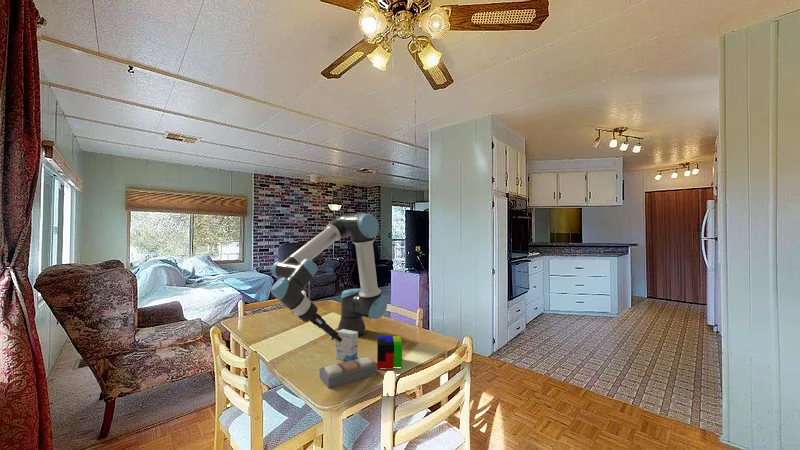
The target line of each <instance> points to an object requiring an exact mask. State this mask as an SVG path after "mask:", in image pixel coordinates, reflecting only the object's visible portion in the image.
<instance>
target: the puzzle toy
mask: <svg viewBox="0 0 800 450" xmlns="http://www.w3.org/2000/svg"><path fill="white" fill-rule="evenodd" d="M376 343H377V347H376V348H377V349H376V350H377V351H376V365H377V370H381V369H380V368H393V367H402V368H403V342H402V338H401V335H378V336H377V342H376Z"/></svg>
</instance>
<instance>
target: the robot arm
mask: <svg viewBox="0 0 800 450" xmlns="http://www.w3.org/2000/svg"><path fill="white" fill-rule="evenodd" d="M379 231H380V225H379V221H378V219H377V218H376V217H375V215H373V214H371V213H364V212H363V213H361V212H360V213H345V214H342V215H340V216H338V217H336V218H335V219H333V220H332V221H330V222H329V223H328V224H327V225H326V226H325V229H324V230H322V231H321V232H320V233H318V234H317V235H315V236H314V237H313V238H312V239H311V240H309V241H307V242H306V243H305V244H304V245H303V246H301V247H300V248H298V249H297V250H296V251H294V252H293V253H292V254H290V255H289V256H288V257H287V258H286V259H283V260H278V261H276V262H273V264H272V265H271V269H270V272H271V274H272V276H273V277H274V278H277V279H278V280H277V281H276V282H275V283H273V285H272V286H271V289H270V292H271V294H272V295H273V297H275V298H276V300H277V301H279V302H281V304H283V305H284V306H285V307H286V308H288V309H289V310H290V311H291V312H290V314H292V315H293V314H294V315H295V316H298V318H299V319H300V320H302V322H304V323H307V322H311V323H312V324H313V325H314V326H316V327H318V328H319V329H320V330H322V331H323V332H324V333H325V334H326V335H327V336H329V338H331V341H335V343H336V342H337V343H339V344H340V345H341V346H342V347H343V348H344V346H345V345H346V344H347V343H348V342H347V341H346V340H345V339H344V338H343V337H342V336H340V335H339V334H338V332H337V331H339V330H342V329H345V330H351V331H356V332H358V337H359V336H363V335H364V334H365V333H366V330H367V329H366V324H365V322H364V317H365V318H368V319H371V320H379V319H380V318H382V317H383V316H384V315H385V313H386V311H387V307H388V300H387V298H386V297H385V296H382V290H381V289H380V288H379V287H378V281H377V280H378V278H377V271H376V263H375V251H374V242H375V240H376V236H378V234H379ZM346 237H351V242H352V244H354V246H355V252H356V253H355V254H356V260H357V261H356V262H357V268H358V274H359V277H358V278H359V284H360V288H349V289H344V290H343V291H341V298H340V319H339V323H338V326H337V331H336V330H335V329H334V328H333V327H331V326H330V325H329V324H328V323H327V321H326V320H325V319H324V318H322V316H321V315H320V314H318V309H319V308H318V306H317V305H316V304H315V303H313V302H312V300H311V299H309V298H308V297H307V296H306V295H305V294H303V292H302V291H303V290H304V289H305V287H306V285H308V283H310V281H312V278H314V277H315V275H316V273H317V271H318V266H317V264H316V263H315V262H314V261H313V259H315V258H316V257H317V256H318V255H320V254H321V253H322V252H323V251H325V249H327V248H328V247H330V246H331V245H332V244H333V243H334V242H337V241H340V240H341V239H343V238H346Z"/></svg>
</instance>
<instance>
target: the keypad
mask: <svg viewBox="0 0 800 450" xmlns="http://www.w3.org/2000/svg"><path fill="white" fill-rule="evenodd" d="M355 360H356V359H355ZM355 360H352V361H353V362H355ZM336 364H337V365H338V366H339V367H340V363H336ZM340 368H341V367H340ZM341 369H342V368H341ZM374 374H376V375H377V374H378V369H377V363H375V362H373V361H372V365H368V366H364V367H359V366H358V368H357V369H353V370H349V371H344V370H343V369H342V373H338V374H334V375H330V376H329V375H328V374H327V373H326V372H325V371H324V367H321V368H319V379H320V380H321V381H322V382H323V384H324V385H325V386H326V387H327V388H328V389H330V388H333V387H334V388H335V387H337V386H341V385H343V384H344V385H346V384H348V383H351V382H355V381H357V380H361V379H362V380H363V379H365V377H366V378H369V377H372V376H371V375H373V376H375V375H374ZM368 376H369V377H368Z"/></svg>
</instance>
